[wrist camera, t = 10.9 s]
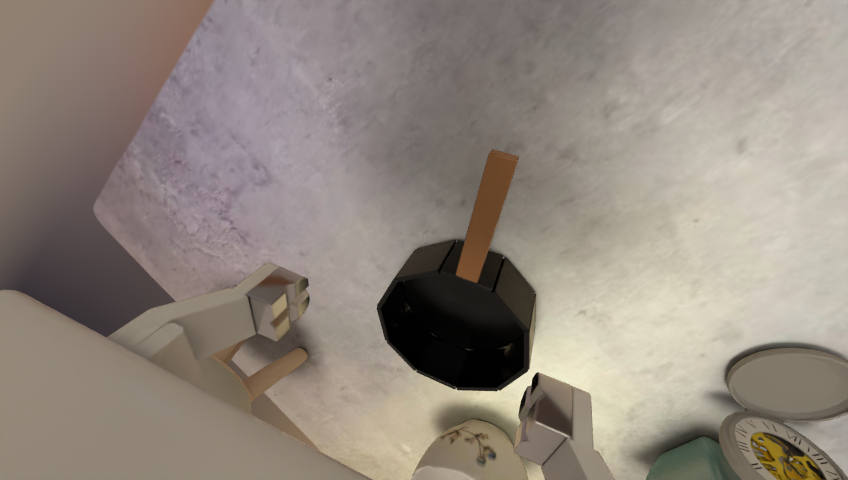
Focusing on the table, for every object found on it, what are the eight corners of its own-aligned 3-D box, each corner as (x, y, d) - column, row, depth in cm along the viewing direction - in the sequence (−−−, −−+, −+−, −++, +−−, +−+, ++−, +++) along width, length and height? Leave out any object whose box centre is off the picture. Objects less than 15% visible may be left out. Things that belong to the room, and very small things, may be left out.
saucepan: (423, 111, 23) (395, 126, 19) (620, 163, 20) (629, 192, 17) (393, 319, 35) (372, 352, 32) (512, 369, 32) (504, 412, 29)
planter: (337, 377, 46) (186, 595, 28) (254, 357, 52) (88, 525, 34) (295, 281, 38) (53, 495, 20) (204, 272, 45) (-40, 429, 27)
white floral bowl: (433, 385, 39) (404, 455, 32) (547, 420, 34) (540, 508, 28) (438, 455, 46) (416, 522, 40) (532, 490, 42) (524, 571, 36)
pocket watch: (854, 336, 20) (1032, 532, 12) (863, 428, 23) (1015, 638, 15) (688, 348, 25) (741, 499, 17) (711, 424, 27) (767, 585, 19)
